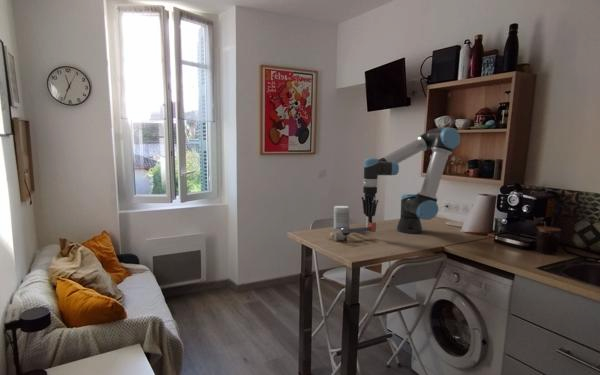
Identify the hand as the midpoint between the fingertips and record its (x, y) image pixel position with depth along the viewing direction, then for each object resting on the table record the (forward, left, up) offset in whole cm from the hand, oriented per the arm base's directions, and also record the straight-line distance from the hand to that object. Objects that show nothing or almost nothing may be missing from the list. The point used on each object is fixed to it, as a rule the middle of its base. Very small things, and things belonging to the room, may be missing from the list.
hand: (368, 227), depth 196 cm
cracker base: (+12, +2, -6) cm, 14 cm away
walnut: (+21, -4, -5) cm, 22 cm away
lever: (+11, +1, -5) cm, 12 cm away
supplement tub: (0, -24, -7) cm, 25 cm away
